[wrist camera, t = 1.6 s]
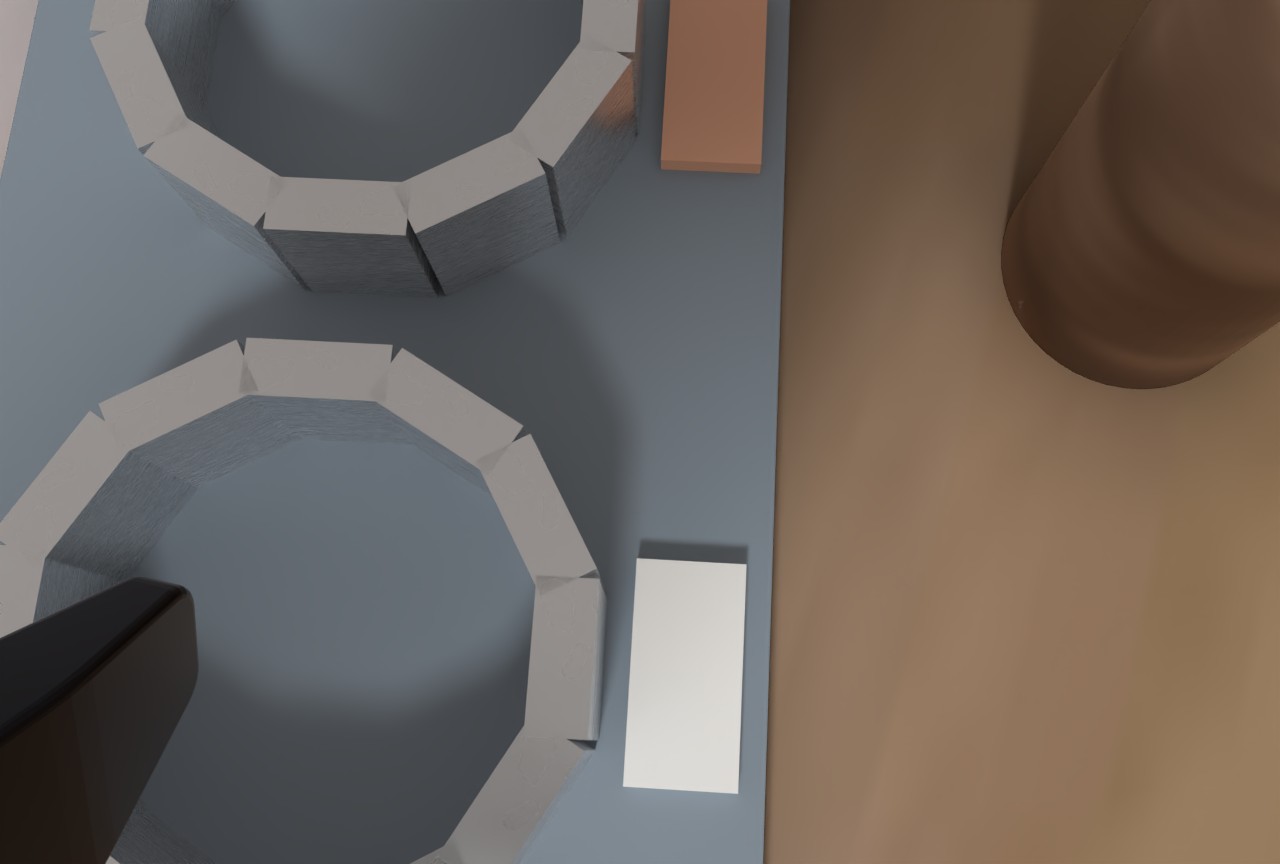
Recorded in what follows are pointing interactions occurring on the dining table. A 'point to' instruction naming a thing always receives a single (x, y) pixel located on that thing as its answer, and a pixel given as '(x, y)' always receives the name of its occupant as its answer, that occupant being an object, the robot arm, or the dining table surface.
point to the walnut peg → (1159, 203)
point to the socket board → (382, 537)
